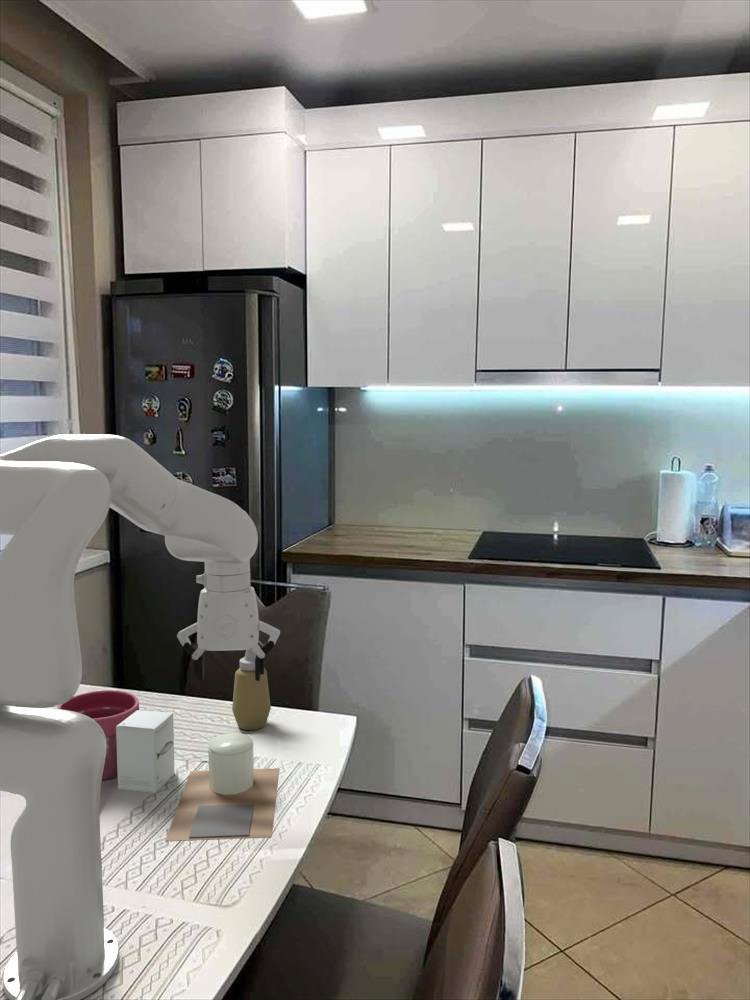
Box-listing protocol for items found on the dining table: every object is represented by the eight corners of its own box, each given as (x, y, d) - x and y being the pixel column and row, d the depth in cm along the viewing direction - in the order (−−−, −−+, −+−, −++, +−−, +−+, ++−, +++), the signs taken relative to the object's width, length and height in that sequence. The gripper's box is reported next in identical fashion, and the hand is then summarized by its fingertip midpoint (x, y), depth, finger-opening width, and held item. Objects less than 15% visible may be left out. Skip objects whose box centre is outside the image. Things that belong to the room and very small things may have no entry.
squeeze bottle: (225, 730, 153) (223, 646, 151) (243, 715, 161) (242, 635, 159) (260, 735, 151) (259, 650, 149) (277, 720, 158) (276, 638, 156)
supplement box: (156, 800, 125) (154, 729, 124) (116, 795, 127) (114, 725, 125) (176, 779, 133) (174, 712, 131) (138, 775, 134) (136, 708, 133)
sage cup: (251, 793, 125) (250, 751, 124) (206, 795, 125) (205, 752, 124) (255, 772, 133) (254, 732, 132) (213, 773, 132) (212, 733, 131)
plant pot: (156, 759, 140) (154, 694, 139) (106, 795, 127) (103, 724, 125) (95, 747, 145) (93, 685, 143) (41, 780, 132) (38, 712, 130)
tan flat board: (271, 844, 113) (271, 835, 112) (165, 848, 111) (164, 839, 111) (279, 774, 134) (279, 767, 134) (190, 777, 133) (190, 770, 133)
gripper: (171, 587, 120) (174, 688, 122) (278, 586, 121) (279, 685, 124) (180, 577, 128) (182, 672, 130) (280, 576, 129) (281, 670, 131)
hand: (230, 678), depth 127 cm, fingers open, 9 cm apart
